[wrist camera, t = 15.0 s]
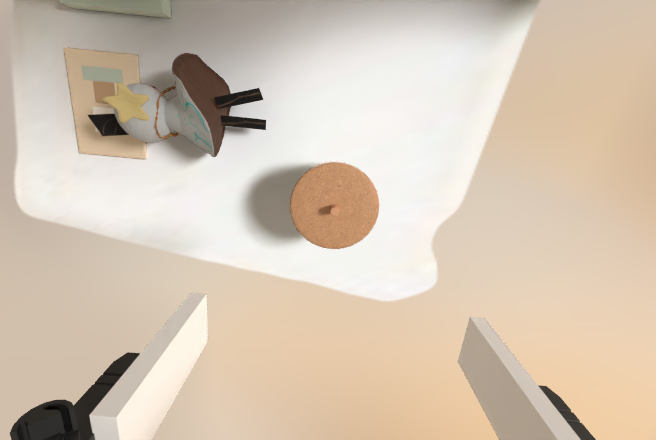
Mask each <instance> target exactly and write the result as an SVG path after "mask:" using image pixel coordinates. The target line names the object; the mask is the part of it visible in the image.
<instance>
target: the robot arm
mask: <svg viewBox="0 0 656 440" xmlns="http://www.w3.org/2000/svg"><path fill="white" fill-rule="evenodd" d="M207 335H208V332H207V299H206V294H198V293H190V294H189V296H188V297H187V298H186V299H185V300H184V302H183V303H182V304H181V305H180V306H179V308H178V309H177V310H176V311H175V312H174V314H173V315H172V316H171V317H170V318H169V320H168V321H167V322H166V323H165V325H164V326H163V327H162V328H161V329H160V330H159V332H158V333H157V334H156V335H155V337H154V338H153V339H152V340H151V341H150V343H149V344H148V345H147V346H146V347H145V349H144V350H143V351H142V352H141V353H126V354H125V355H123V356H122V357H120V358H119V359H117V360H116V361H114V362H113V363H112V364H111V365H110V366H109V368H108V369H107V370H106V371H105V372H104V373H103V375H101V376H100V377H99V378H98V380H97V381H96V382H95V384H94V385H92V386H91V387H90V388H89V389H88V391H87V392H86V393H85V394H84V395H83V396H82V397H81V398H80V399H79V400H78V402H77V403H76V404H75V405H74V406H73V404H72V403H71V402H69V401H67V400H54V401H50V402H46V403H43V404H41V405H39V406H37V407H35V408H33V409H31V410H30V411H28V412H27V413H25V414H24V415H23V416H21V417H20V418H19V419H18V421H17V422H16V423H15V424H14V425H13V427H12V430H11V432H10V436H11V439H12V440H152V438H153V436H154V435H155V433H156V431H157V429H158V427H159V426H160V424H161V422H162V421H163V419H164V417H165V415H166V413H167V412H168V410H169V408H170V406H171V405H172V403H173V401H174V399H175V398H176V396H177V394H178V392H179V391H180V389H181V387H182V385H183V383H184V382H185V380H186V378H187V376H188V375H189V373H190V371H191V369H192V367H193V366H194V364H195V362H196V360H197V359H198V357H199V355H200V353H201V352H202V350H203V348H204V346H205V345H206V343H207V341H208V336H207ZM458 363H459V365H460V367H461V369H462V370H463V372H464V374H465V376H466V378H467V380H468V382H469V384H470V386H471V388H472V389H473V391H474V393H475V395H476V397H477V399H478V401H479V403H480V404H481V406H482V408H483V410H484V412H485V414H486V416H487V417H488V420H489V421H490V423H491V425H492V427H493V429H494V431H495V433H496V435H497V437H498V438H499V440H595V438H594V437H593V436H592V435H591V434H590V432H589V431H588V430H587V429H586V428H585V426H584V425H583V424H582V423H580V421H579V419H577V417H576V416H575V415H574V413H572V412H571V410H570V408H569V407H568V406H567V405H566V404H565V403H564V401H563V400H562V399H561V398H560V397H559V396H558V395H557V394H555V393H554V392H553V391H552V390H550V389H549V388H548V387H547V386H538V385H537V384H536V382H535V381H534V380H533V379H532V377H531V376H530V375H529V374H528V372H527V371H526V370H525V369H524V367H523V366H522V365H521V363H520V362H519V361H518V360H517V358H516V357H515V356H514V354H513V353H512V352H511V351H510V349H509V348H508V347H507V345H506V344H505V343H504V342H503V341H502V339H501V338H500V337H499V335H498V334H497V333H496V332H495V330H494V329H493V328H492V326H491V325H490V324H489V323H488V321H487V320H486V319H485V318H477V317H470V319H469V322H468V326H467V330H466V333H465V337H464V341H463V344H462V348H461V352H460V355H459V359H458Z"/></svg>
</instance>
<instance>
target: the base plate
mask: <svg viewBox="0 0 656 440" xmlns="http://www.w3.org/2000/svg"><path fill="white" fill-rule="evenodd" d="M58 1H59V2H60V3H62V4H64V5H66V6H69V7H71V8H75V9H85V10H95V11H105V12H114V13H124V14H134V15H144V16H154V17H164V18H171V2H170V0H58Z"/></svg>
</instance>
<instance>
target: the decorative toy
mask: <svg viewBox="0 0 656 440" xmlns="http://www.w3.org/2000/svg"><path fill="white" fill-rule="evenodd" d="M172 73H173V75H174V76H175V78H176V81H175V85H176V86H172V87H170V88H169V89H167V90H165V91H163V93H161V92H159V91H158V90H156V87H153V86H152V87H151V86H149V85H145V84H140V83H135V84H129V85H127V86H125V85H124V84H123V83H120V82H118V83H117V95H113V96H107V97H103V98H102V100H103V101H104V102H107V103H109V104H110V105H111V106H113V107H114V113H115V114H95V115H88V117H89V118H90V120H91V121H92V122H93V124H94V125H95V127H96V128H97V129H98V131H99V132H100V133H101V135H102V136H118V135H131V136H132V137H134V138H136V139H137V140H140V141H143V142H158V141H161V140H163V139H166V138H167V137H169V136H170V135H172V136H174V137H176V136H177V135H178V134H179V133H180V134H182V135H184V136H186V137H187V138H188V139H189V140H190V141H191V142H193V143H194V144H196V145H197V146H198V147H200V148H201V149H203V150H205V151H206V152H207V153H209V154H210V155H211V156H212V157H216V156H217V154H218V152H219V150H220V147H221V144H222V140H223V137H224V131H225V126H233V127H242V128H252V129H262V130H266V120H261V119H252V118H242V117H233V116H229V112H230V108H231V106H235V105H240V104H245V103H250V102H254V101H259V100H263V98H262V95H261V92H260V89H259V88H257V89H252V90H248V91H243V92H238V93H233V94H230V90H229V86H228V85H227V83H226V82H225V81H224V79H223V78H221V77H220V76H219V75H218V74H217V73H216V72H214V71H213V70H212V69H211V68H210V67H208V66H207V65H206V64H205V63H204V62H203V61H202V60H201V59H200V58H199V57H198V56H197V55H195V54H189V53H184V54H181V55H179V56H178V57H177V58H176V59H175V60H174V62H173V65H172ZM175 88H176V91H177V95H176V96H174V97H173V98H171V99H169V100H167V99H166V98H165V96H164V95H163V94H164V93H166V92H167V91H170V90H171V89H175ZM172 130H173V131H175V132H177V133H176V134H174V133H172V134H170V133H171V132H172Z"/></svg>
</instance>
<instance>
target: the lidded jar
mask: <svg viewBox="0 0 656 440" xmlns="http://www.w3.org/2000/svg"><path fill="white" fill-rule="evenodd" d="M290 212H291V217H292V220H293V223H294V225H295V226H296V228H297V230H298V231H299V232H300V234H301V235H302V236H303V237H304V238H306V239H307V240H308V241H310V242H311V243H313V244H315V245H317V246H320V247H324V248H329V249H340V248H345V247H349V246H352V245H354V244H356V243H358V242H359V241H361V240H362V239H363V238H364V237H366V236H367V235H368V234H369V232H370V231H371V230H372V228H373V226H374V225H375V223H376V220H377V217H378V212H379V199H378V195H377V191H376V189H375V187H374V185H373V183H372V182H371V180H370V179H369V178H368V177H367V176H366V175H365V174H364V173H363V172H362V171H361V170H359V169H358V168H356V167H355V166H353V165H351V164H348V163H345V162H339V161H330V162H324V163H321V164H318V165H316V166H314V167H313V168H311V169H310V170H308V171H307V172H306V173H305V174H304V175H303V176H302V177H301V178H300V179H299V181H298V182H297V184H296V185H295V187H294V189H293V192H292V195H291V200H290Z"/></svg>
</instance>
